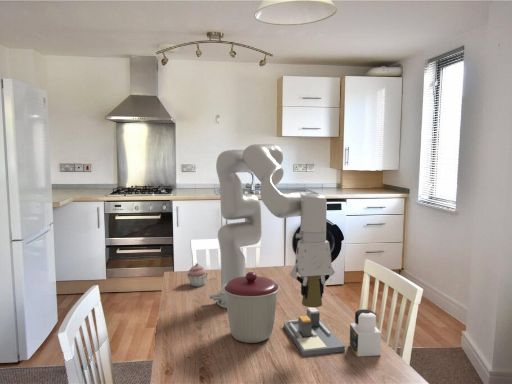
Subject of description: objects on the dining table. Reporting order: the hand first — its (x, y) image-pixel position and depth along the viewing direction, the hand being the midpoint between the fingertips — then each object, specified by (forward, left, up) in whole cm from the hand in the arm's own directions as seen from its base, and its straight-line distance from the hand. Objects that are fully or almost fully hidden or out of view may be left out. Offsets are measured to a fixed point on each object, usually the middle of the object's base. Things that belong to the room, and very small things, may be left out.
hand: (312, 296), depth 121 cm
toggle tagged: (0, +6, -14) cm, 15 cm away
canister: (-16, +12, -16) cm, 26 cm away
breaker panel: (+2, +6, -16) cm, 17 cm away
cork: (0, 0, -2) cm, 2 cm away
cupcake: (-29, +66, -16) cm, 74 cm away
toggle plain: (+5, +12, -14) cm, 19 cm away
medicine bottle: (+15, -5, -16) cm, 23 cm away
